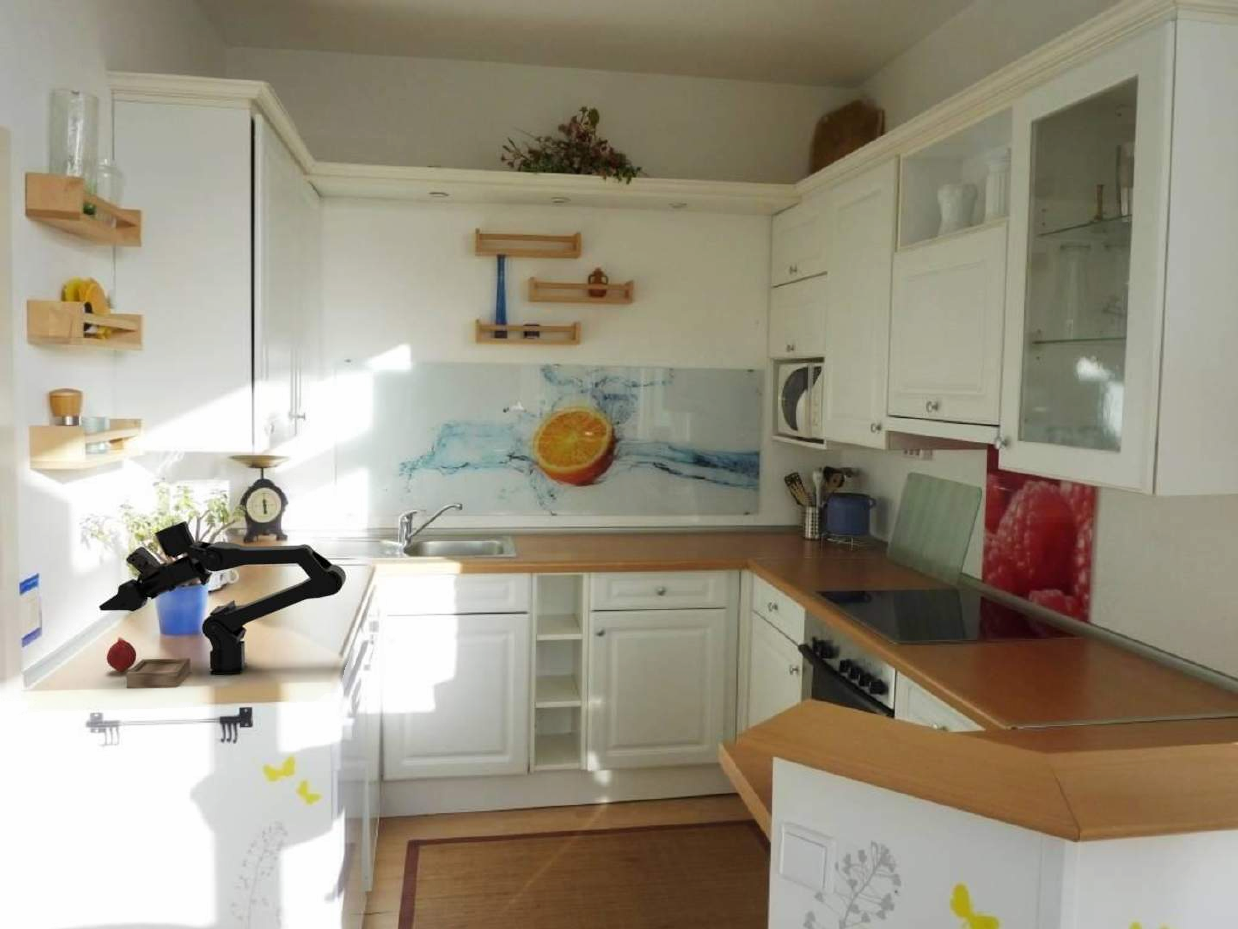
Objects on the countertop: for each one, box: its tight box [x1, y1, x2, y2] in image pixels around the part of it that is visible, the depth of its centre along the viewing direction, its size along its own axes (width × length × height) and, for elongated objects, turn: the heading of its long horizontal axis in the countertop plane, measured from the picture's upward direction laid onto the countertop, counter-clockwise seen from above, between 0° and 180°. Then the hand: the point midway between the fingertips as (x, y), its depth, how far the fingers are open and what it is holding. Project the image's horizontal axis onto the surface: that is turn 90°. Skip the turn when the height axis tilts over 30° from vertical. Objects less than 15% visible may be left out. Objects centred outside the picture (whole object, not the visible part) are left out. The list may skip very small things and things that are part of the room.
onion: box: [106, 636, 137, 674], centre depth 217 cm, size 6×6×8 cm
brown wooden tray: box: [126, 658, 191, 689], centre depth 213 cm, size 10×10×3 cm
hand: (108, 603), depth 216 cm, fingers open, 9 cm apart
